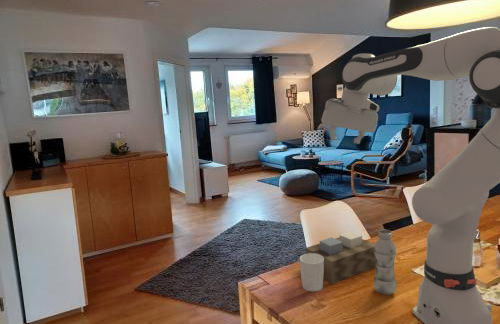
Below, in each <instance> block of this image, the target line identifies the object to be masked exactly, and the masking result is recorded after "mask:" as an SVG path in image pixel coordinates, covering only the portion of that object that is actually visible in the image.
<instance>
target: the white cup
mask: <svg viewBox="0 0 500 324" xmlns="http://www.w3.org/2000/svg"><path fill="white" fill-rule="evenodd" d="M299 268H300V278H301V285H302V289H304V290H305V291H308V292H318V291H321V290H322V289H323V287H324V279H323V274H324V257H323V256H321V255H319V254H314V253H308V254H306V253H304V254H302V255H300V256H299Z"/></svg>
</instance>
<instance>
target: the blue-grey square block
mask: <svg viewBox="0 0 500 324" xmlns="http://www.w3.org/2000/svg"><path fill="white" fill-rule="evenodd" d="M319 244H320V250H321V251H323V252H325V253H327V254H329V255H334V254H337V253H340V252H343V242H341V241H339V240H337V239H336V238H334V237H328V238H326V239H325V238H324V239H321V240H319Z"/></svg>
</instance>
